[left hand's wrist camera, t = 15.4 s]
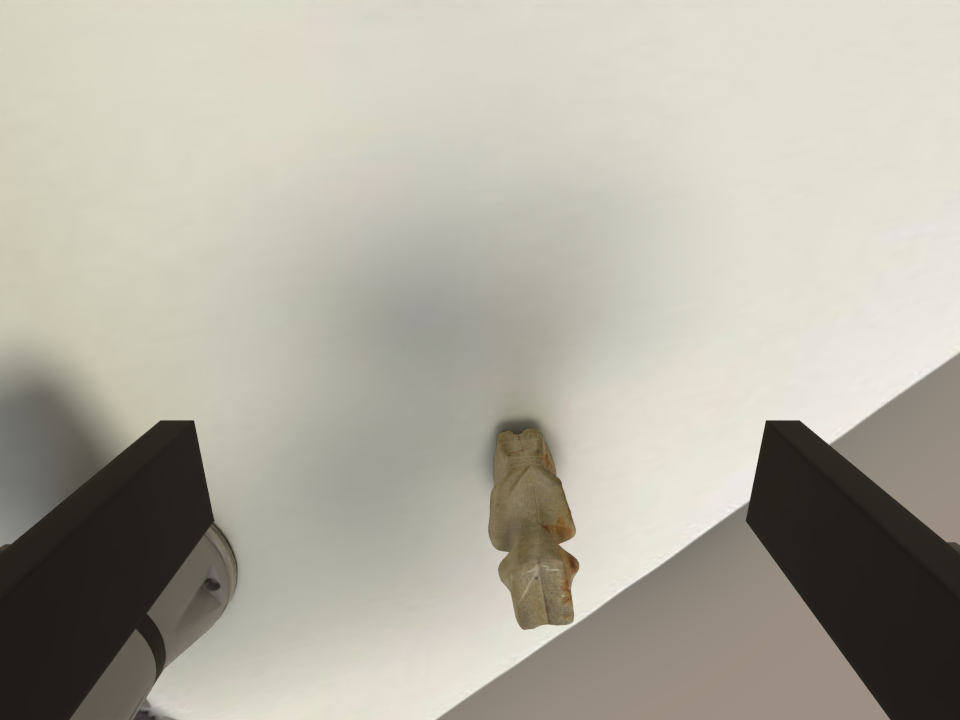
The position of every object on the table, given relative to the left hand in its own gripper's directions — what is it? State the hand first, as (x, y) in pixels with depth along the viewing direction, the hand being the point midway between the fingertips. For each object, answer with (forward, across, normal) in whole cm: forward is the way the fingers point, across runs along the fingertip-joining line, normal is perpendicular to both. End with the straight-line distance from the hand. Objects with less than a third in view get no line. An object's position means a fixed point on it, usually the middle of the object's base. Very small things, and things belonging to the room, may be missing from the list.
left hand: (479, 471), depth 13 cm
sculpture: (+29, -4, +16) cm, 33 cm away
